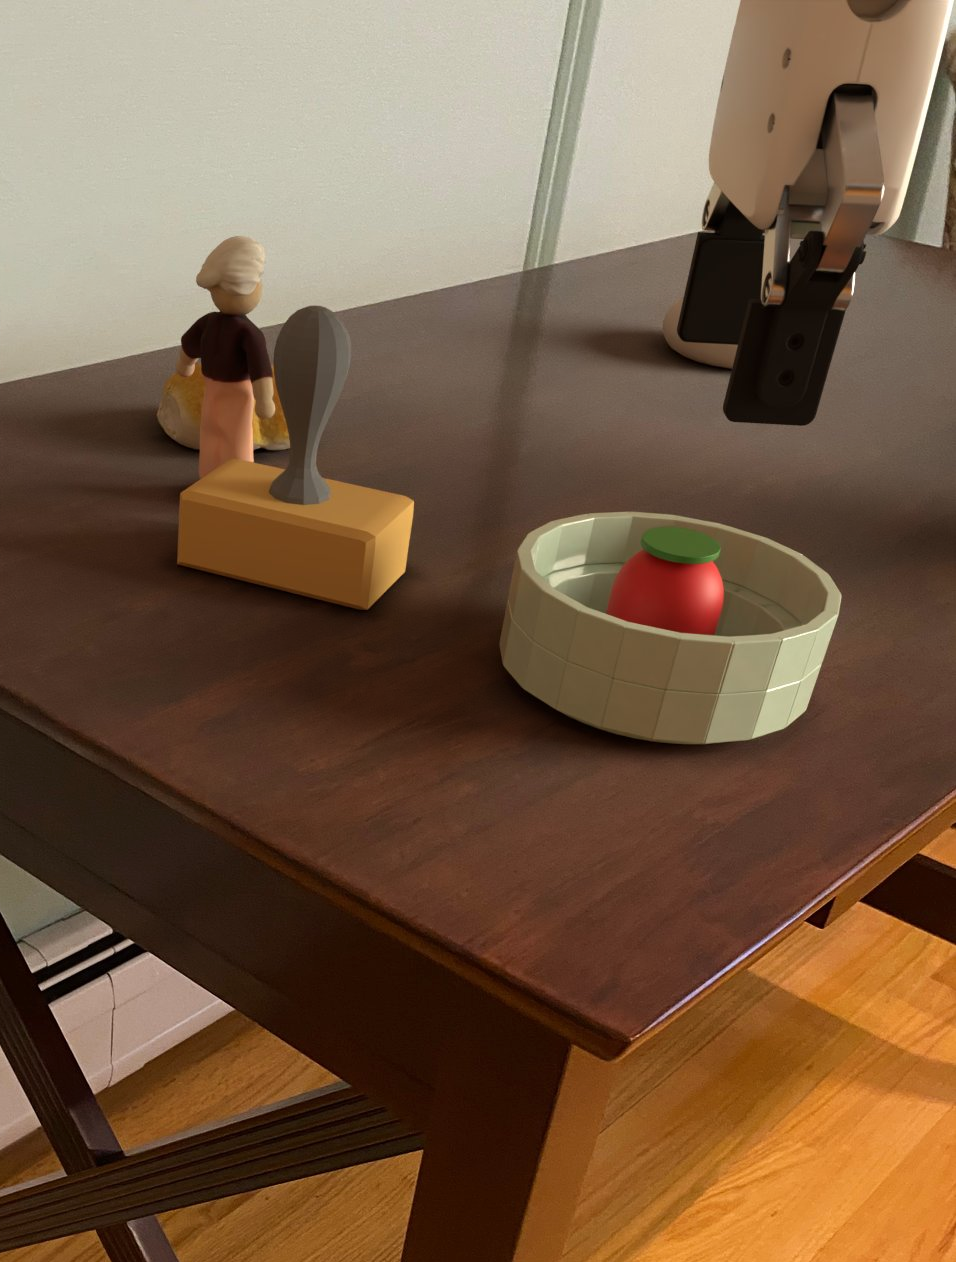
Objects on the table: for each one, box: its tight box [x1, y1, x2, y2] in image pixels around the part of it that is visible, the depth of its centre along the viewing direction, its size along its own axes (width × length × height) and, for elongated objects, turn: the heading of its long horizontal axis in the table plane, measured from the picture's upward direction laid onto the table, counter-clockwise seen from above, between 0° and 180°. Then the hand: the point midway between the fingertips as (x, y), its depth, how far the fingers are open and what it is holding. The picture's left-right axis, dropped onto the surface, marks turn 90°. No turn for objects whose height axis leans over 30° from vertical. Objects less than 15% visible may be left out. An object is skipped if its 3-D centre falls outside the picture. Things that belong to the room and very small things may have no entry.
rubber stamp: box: [176, 305, 415, 611], centre depth 69 cm, size 10×6×12 cm, turn 64°
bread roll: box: [156, 363, 290, 451], centre depth 87 cm, size 8×9×4 cm
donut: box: [662, 296, 738, 370], centre depth 105 cm, size 10×3×10 cm
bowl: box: [498, 511, 843, 745], centre depth 64 cm, size 13×13×5 cm
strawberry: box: [606, 527, 724, 635], centre depth 63 cm, size 5×5×6 cm
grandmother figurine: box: [175, 235, 275, 480], centre depth 76 cm, size 8×4×13 cm, turn 48°
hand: (739, 378), depth 58 cm, fingers open, 9 cm apart
